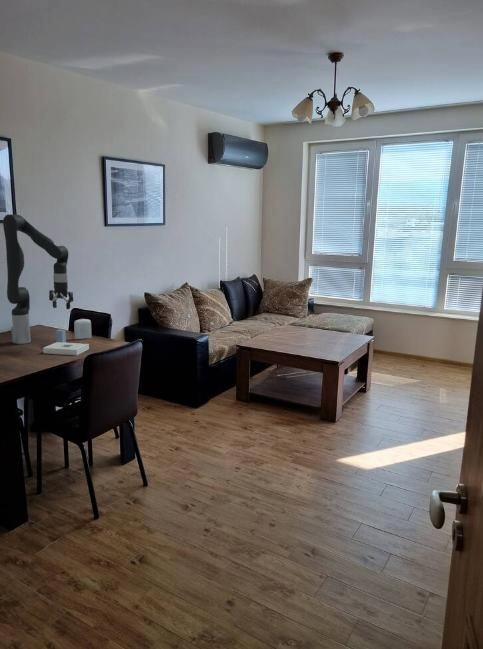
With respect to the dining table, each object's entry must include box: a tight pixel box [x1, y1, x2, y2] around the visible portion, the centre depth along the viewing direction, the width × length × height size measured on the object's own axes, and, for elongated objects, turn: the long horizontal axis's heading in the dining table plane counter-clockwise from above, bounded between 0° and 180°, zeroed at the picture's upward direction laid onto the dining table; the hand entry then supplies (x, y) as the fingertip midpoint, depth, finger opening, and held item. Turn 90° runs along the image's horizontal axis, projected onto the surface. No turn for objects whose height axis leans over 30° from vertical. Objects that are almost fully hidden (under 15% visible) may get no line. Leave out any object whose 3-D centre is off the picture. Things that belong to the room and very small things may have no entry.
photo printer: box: [73, 318, 92, 340], centre depth 300 cm, size 10×4×12 cm, turn 123°
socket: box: [42, 341, 90, 356], centre depth 270 cm, size 20×14×3 cm
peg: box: [55, 329, 67, 343], centre depth 282 cm, size 4×4×9 cm
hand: (61, 308), depth 279 cm, fingers open, 8 cm apart
